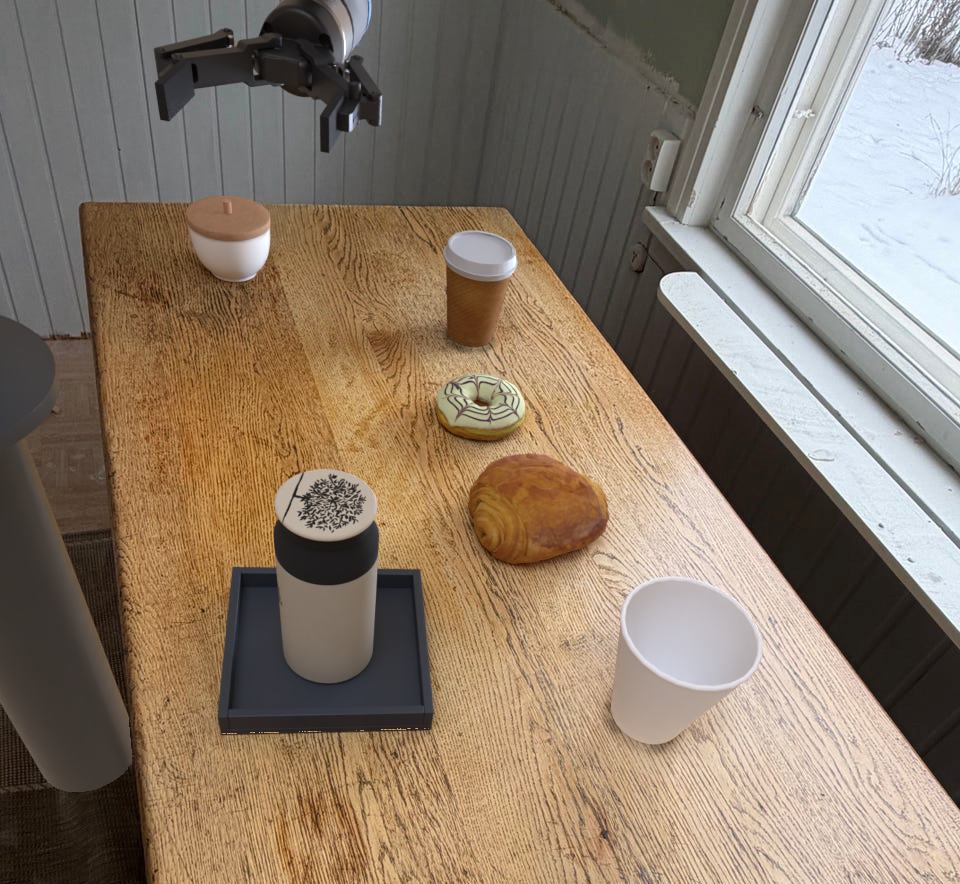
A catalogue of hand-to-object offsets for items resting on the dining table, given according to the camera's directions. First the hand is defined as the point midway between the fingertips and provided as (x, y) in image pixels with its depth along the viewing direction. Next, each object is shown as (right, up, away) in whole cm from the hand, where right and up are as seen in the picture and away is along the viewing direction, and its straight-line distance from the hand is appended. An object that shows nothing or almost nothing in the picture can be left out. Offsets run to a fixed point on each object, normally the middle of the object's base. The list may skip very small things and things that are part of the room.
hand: (243, 119), depth 67 cm
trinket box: (-15, +8, +45) cm, 48 cm away
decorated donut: (+19, -16, +32) cm, 41 cm away
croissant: (+25, -31, +22) cm, 45 cm away
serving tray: (+6, -45, +7) cm, 46 cm away
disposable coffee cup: (+18, -1, +44) cm, 47 cm away
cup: (+35, -50, +8) cm, 62 cm away
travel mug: (+6, -44, +6) cm, 45 cm away
